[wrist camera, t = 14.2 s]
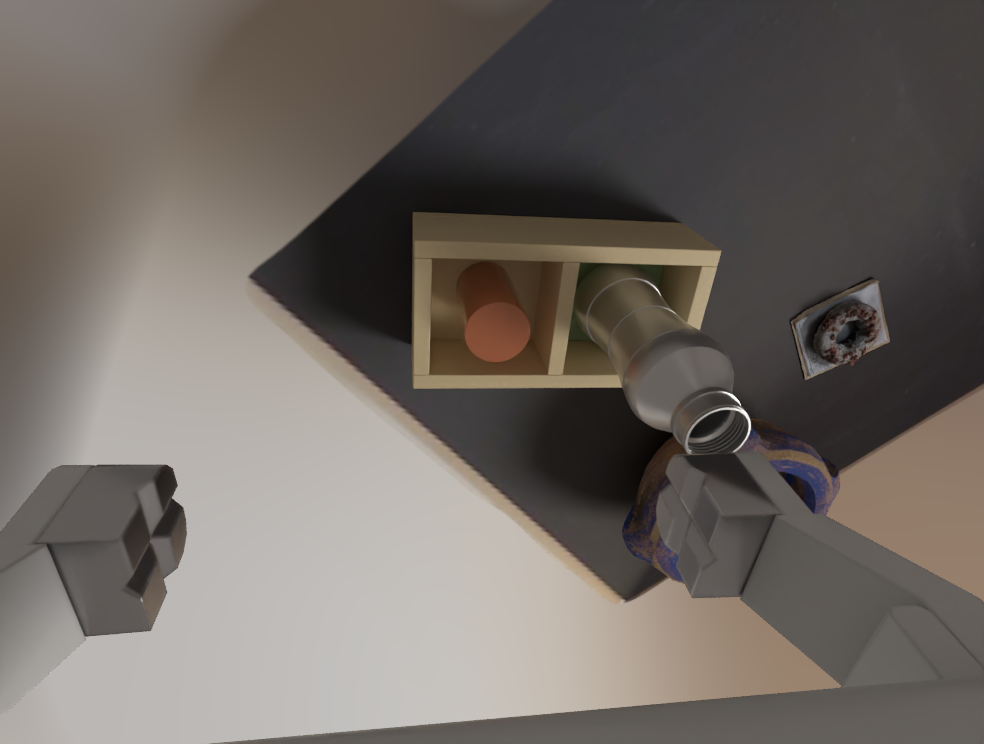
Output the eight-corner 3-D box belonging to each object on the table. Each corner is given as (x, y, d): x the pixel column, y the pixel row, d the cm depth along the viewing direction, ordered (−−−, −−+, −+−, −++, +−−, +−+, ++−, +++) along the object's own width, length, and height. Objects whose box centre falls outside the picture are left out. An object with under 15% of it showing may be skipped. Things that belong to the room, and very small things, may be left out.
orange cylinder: (456, 260, 45) (466, 301, 39) (514, 262, 46) (534, 302, 39) (454, 314, 48) (462, 362, 41) (509, 315, 48) (527, 362, 42)
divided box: (412, 211, 44) (414, 240, 38) (681, 222, 47) (722, 250, 41) (411, 345, 50) (412, 388, 44) (652, 347, 53) (683, 387, 47)
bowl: (702, 543, 67) (745, 618, 59) (581, 490, 61) (610, 566, 52) (817, 431, 61) (885, 497, 52) (696, 358, 54) (751, 419, 46)
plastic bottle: (551, 290, 48) (633, 437, 30) (618, 235, 46) (746, 358, 29) (595, 341, 51) (693, 502, 33) (660, 292, 49) (797, 433, 32)
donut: (878, 274, 52) (894, 283, 50) (887, 341, 56) (903, 351, 54) (789, 317, 53) (802, 327, 52) (804, 380, 57) (817, 391, 55)
